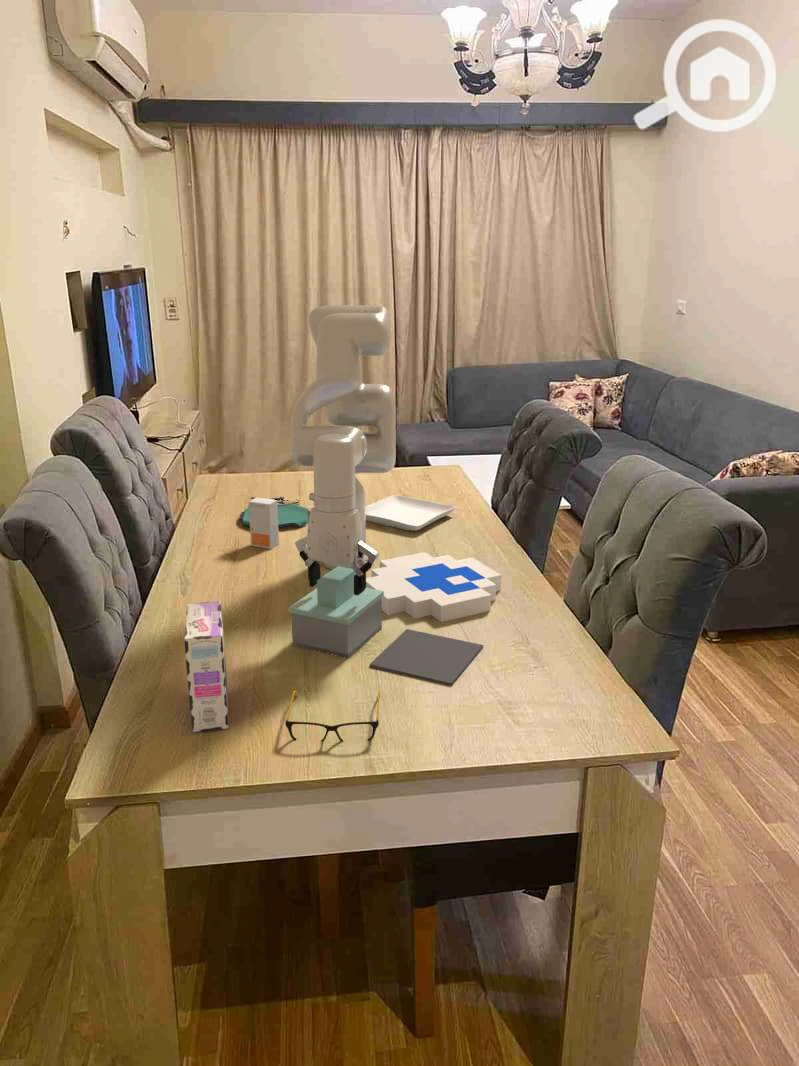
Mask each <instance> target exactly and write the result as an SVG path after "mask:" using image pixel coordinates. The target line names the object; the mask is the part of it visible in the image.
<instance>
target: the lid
mask: <svg viewBox="0 0 799 1066" xmlns="http://www.w3.org/2000/svg"><path fill="white" fill-rule="evenodd" d="M355 575H356V573H355V571H354V570H353V569H350V568H345V567H339V566H338V567H336V568H335V569H331V570H330V571H328V573H325V574H324V575H323V576H321V578H320V579H318V580H317V585H316V588H315V589H314V590H312V591H310V592H309V593H307V594H306V595H305V596H303V597H302V598H301V599H299V600H297V601H296V602H295V603H293V604H292V605H290V606H289V607H288V613H290V614H291V613H294V614H299V615H303V616H308V617H313V618H317V619H322V620H327V621H331V622H336V623H341V624H345V625H349V624H350V623H351V622H352V621H354V620H355V619H356V618H357V617H359V616H360V615H361V614H362V613H363V612H365V611H366V610H367V609H368V608H370V607H371V606H372V605H373V604H374V603H376V602H377V601H378V600H379V599H381V598H382V597H383V596H384V591H380V590H375V589H370V588H366V589H365V590H364V591H363V592H362V593H361V594H359V595H358V596H357V595H355V594H354V576H355Z"/></svg>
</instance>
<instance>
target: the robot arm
mask: <svg viewBox="0 0 799 1066" xmlns="http://www.w3.org/2000/svg"><path fill="white" fill-rule="evenodd" d="M391 324H392V323H391V316H390V313H389V311H388V309H387V308H386V307H384V306H383V305H365V304H364V305H361V304H360V305H357V304H356V305H354V304H353V305H351V304H350V305H347V304H345V305H344V304H343V305H342V304H339V305H338V304H333V305H331V304H330V305H322V306H317V307H315V308H313V309H311V310H310V313H309V315H308V325H309V330H310V333H311V337H312V339H313V341H314V343H315V346H316V372H315V373H316V374H315V376H316V378H315V380H314V381H313V382H312V383H310V384H309V385H308V387H306V388H305V390H304V391H303V392H302V393H301V395H300V396H299V398H298V399H297V401H296V403H295V405H294V407H293V410H292V412H291V413H292V414H291V419H290V420H291V422H290V423H291V424H290V438H289V439H290V440H289V444H290V447H289V448H290V455H291V457H292V460H293V461H294V462H295V463H296V464H297V465H299V466H302V467H303V466H304V467H312V468H313V492H310V493H309V494H308V495H309V496H308V499H309V500H310V501H313V506H314V507H311V508H310V510H309V511H310V515H309V520H308V522H307V531H306V536H304V537H303V538H301V539H298V540H296V541H295V542H294V543H295V544H294V545H295V547H296V550H297V552H299V553H298V554H299V557H300V558H301V559H302V561H303V562H304V566H305V567H307V579H308V580H307V581H308V583H309V584H308V585H309V587H311V588H313V587H315V586H317V580H318V579H320V578H321V577H322V575H321V574H322V573H321V566H324V567H325V568H326V569H330V570H333V569H335V568H336V567H338V566H339V567H345V568H350V569H353V570H354V571H355V573H356V575H355V576H354V594H355V595H357V596H358V595H359V594H361V593H362V592H363V591H364V590H365V589H366V578H367V572H368V571H369V570H371V568H373V567H374V566H375V563H376V561H377V560H378V558H379V552H378V551H376V550H374V548H372V547H370V546H369V545H367V537H366V536H367V535H366V534H367V533H366V529H367V528H366V527H367V525H366V523H367V522H366V521H367V520H366V513H365V506H366V492H365V488H364V485H363V483H362V482H361V481H360V480H359V479H358V477H357V476H356V474H386V473H390V472H391V471H392V470H393V469H394V467H395V465H396V458H397V447H396V446H397V442H396V441H397V435H396V434H397V432H396V425H397V423H396V421H397V419H396V399H395V395H394V392H393V390H392V388H391V387H390V386H389V385H387V384H383V383H364V382H363V373H362V371H363V365H362V360H361V358H360V356H364V357H365V356H370V357H371V356H375V357H376V356H377V357H378V356H379V357H380V356H385V355H386V354H387V352H388V351H389V348H390V344H391V338H392V335H391V333H392V331H391V330H392V329H391V327H392V325H391ZM322 408H324V411H325V418H326V420H327V421H328V423H330V424H331V425H320V426H319V425H308V426H307V422H308V420H309V418H310V417H311V416H312V415H313V414H314V413H315V412H317V411H319V410H320V409H322ZM359 427H373V428H374V429H375V431H363V430H361V429H360V428H359Z"/></svg>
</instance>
